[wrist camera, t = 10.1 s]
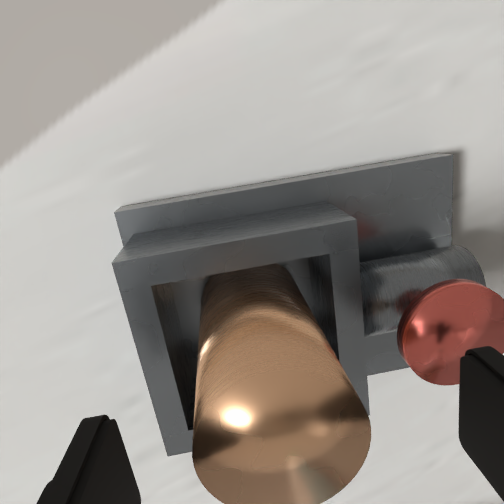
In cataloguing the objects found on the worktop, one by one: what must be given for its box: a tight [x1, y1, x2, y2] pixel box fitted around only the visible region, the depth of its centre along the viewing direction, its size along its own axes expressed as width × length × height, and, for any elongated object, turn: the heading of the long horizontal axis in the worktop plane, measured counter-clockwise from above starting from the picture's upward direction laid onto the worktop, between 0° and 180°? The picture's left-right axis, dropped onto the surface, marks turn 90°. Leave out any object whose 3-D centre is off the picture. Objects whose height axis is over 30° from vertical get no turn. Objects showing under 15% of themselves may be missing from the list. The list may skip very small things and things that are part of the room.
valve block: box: [112, 153, 504, 456], centre depth 15 cm, size 14×10×6 cm
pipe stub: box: [192, 263, 371, 504], centre depth 13 cm, size 4×4×8 cm
